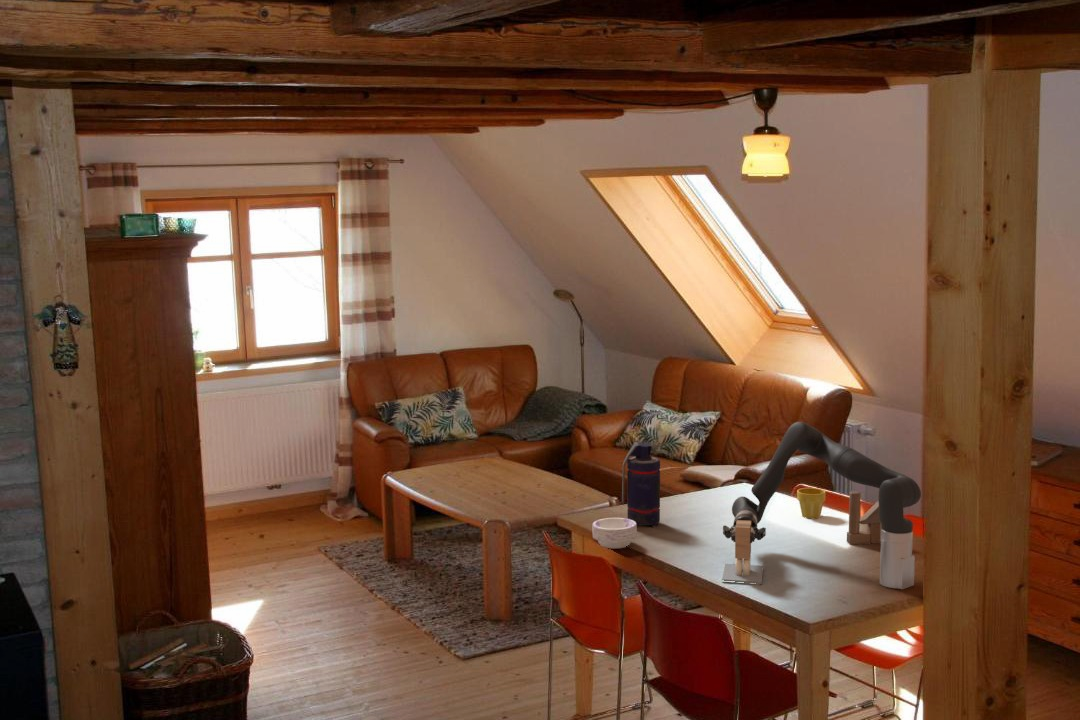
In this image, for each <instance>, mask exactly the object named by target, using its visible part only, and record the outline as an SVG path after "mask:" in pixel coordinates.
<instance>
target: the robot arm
mask: <svg viewBox="0 0 1080 720" xmlns="http://www.w3.org/2000/svg"><path fill="white" fill-rule="evenodd" d="M797 451H799V452H800V453H803V454H805V455H809V456H811V457H814V458H817V459H818V460H821V461H823V462H825V463H826V464H827V465H828V466H829V468H831V470H833V471H834V472H835V473H837V474H838V475H840V476H841V477H843V478H845V479H846V480H849V482H850V481H851V482H854V483H856V484H860V485H864V486H869V487H873V488H877V489H878V502H879V518H880V522H881V523H880V524H881V532H880V555H879V584H880V585H881V586H883V587H886V588H890V589H898V590H904V589H907V588H908V589H909V588H911V587H914V585H915V565H916V564H915V563H916V562H915V560H916V559H915V558H916V557H915V556H916V555H913V535H914V532H913V531H914V523H913V521H912V520H911V519H909V518H907V517H905V516H904V515H905V514H904V508H909V507H912V506H914V505H916V504H917V503H919V501H920V500H921V496H922V491H921V487H920V486H919V485H918V483H917V481H915V479H913V478H911V477H910V476H908V475H905V474H902V473H900V472H898V471H895V470H892V469H890V468H888V467H886V466H884V465H882V464H881V463H879V462H877V461H875V460H874V459H872V458H870V457H868V456H866V455H864V454H863V453H861V452H859V451H858V450H856V449H854V448H852V447H850V446H847V445H844V444H841V443H838V442H835V441H834V440H832V439H831V438H829V437H828V436H827V435H825V433H823V432H821V431H820V430H819V429H818V428H816V427H814V426H812V425H810V424H808V423H806V422H804V421H796V422H793V423H792V424H791V425H790V426H789V428H787V430H786V432H785V433H784V435H783V437H782V440H780V443H779V444H778V447H777V448H776V450H775V453H774V454H773V456H772V458H771V460H770V462H769V463H768V465H767V467H766V468H765V470H764V471H763V472H762V474H761V475H760V476H759V478H758V479H757V480H756V482H755V483H754V484H753V486H752V487H751V489H750V490H751V493H752V495H753V496H754V497H755V498H756V499H757V500H758V504H756V503H755V502H753V500H751V499H749V498H748V497H746V496H739V497H737V498H736V499H734V501H733V503H732V506H731V512H732V515H733V517H734V519H733V525H732V526H731V527H729V526H727V525H722V534H723V536H724V537H725V538H726V539H730V540H731V541H732V542H733V543H735V527H736V522H737V520H747V521H751V534H750V543H751V544H753V543H754V542H756V541H755V540H757V541H761V540H762V539H763V538H765V537H766V535H767V532H766V530H767V529H766V527H761V528H758V524H759V523H760V522H761V521H762V518H763V517H764V513H765V510H766V509H767V508H766V507H767V506H768V503H769V501H770V500H771V499H772V497H773V496H774V495H775V493H776V492H777V491H778V490H779V488H780V486H781V485H782V483H783V480H784V478H785V475H786V469H787V466H788V464H789V461H790V460H791V458H792V457H793V455H794V454H795V453H796V452H797Z"/></svg>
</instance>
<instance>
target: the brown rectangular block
mask: <svg viewBox="0 0 1080 720" xmlns="http://www.w3.org/2000/svg"><path fill="white" fill-rule="evenodd" d="M750 534H751V521H747V520H737V522H736V527H735V542H734V544H735V545H734V552H735V553H734V558H735V559H736V558H740V559H750V555H751V553H752V543H750Z"/></svg>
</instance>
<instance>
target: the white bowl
mask: <svg viewBox="0 0 1080 720" xmlns="http://www.w3.org/2000/svg"><path fill="white" fill-rule="evenodd" d="M591 526H592V527H591V528H592V538H593V539H594V540H596V541H597V542H598V544H599V545H600V546H601V547H603V548H606V549H612V550H613V549H614V550H615V549H616V550H617V549H618V550H619V549H623V548H624V549H625V548H627V547H629V546H630V544H631V542H632V541H634V540H636V538H637V535H638V533H637V530H638V529H637V527H638V526H637V524H636V522H635V521H633V520H630V519H627V518H624V517H606V518H600V519H597V520H595V521H593V523H592V525H591ZM628 545H629V546H628ZM626 546H627V547H626Z"/></svg>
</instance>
